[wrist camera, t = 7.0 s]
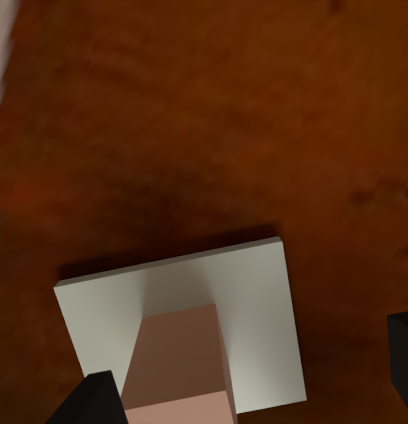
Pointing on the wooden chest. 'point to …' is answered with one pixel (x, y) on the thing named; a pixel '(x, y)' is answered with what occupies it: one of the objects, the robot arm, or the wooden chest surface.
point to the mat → (191, 298)
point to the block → (180, 371)
